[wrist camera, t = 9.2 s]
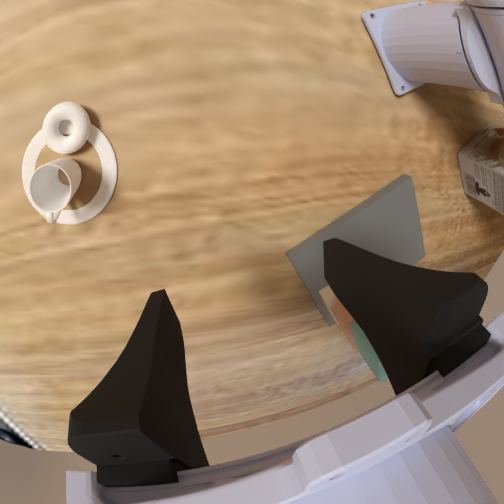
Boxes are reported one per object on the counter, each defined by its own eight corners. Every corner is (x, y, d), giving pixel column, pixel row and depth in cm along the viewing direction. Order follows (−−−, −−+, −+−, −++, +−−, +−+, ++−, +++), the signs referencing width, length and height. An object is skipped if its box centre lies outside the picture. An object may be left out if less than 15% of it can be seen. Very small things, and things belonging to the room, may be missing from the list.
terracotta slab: (378, 273, 25) (394, 289, 23) (387, 306, 28) (401, 321, 26) (330, 307, 25) (343, 325, 23) (345, 336, 28) (356, 353, 26)
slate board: (404, 173, 24) (411, 176, 24) (419, 252, 30) (424, 256, 30) (285, 253, 25) (289, 258, 24) (325, 320, 31) (329, 326, 30)
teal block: (392, 297, 23) (422, 329, 19) (394, 325, 26) (420, 355, 22) (350, 324, 23) (377, 361, 19) (357, 349, 26) (380, 383, 22)
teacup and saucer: (61, 89, 14) (37, 88, 11) (145, 143, 18) (139, 153, 15) (11, 191, 16) (-13, 211, 13) (88, 239, 20) (75, 266, 17)
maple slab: (364, 259, 27) (378, 273, 25) (375, 293, 30) (387, 306, 28) (318, 291, 27) (330, 307, 25) (334, 321, 30) (345, 336, 28)
